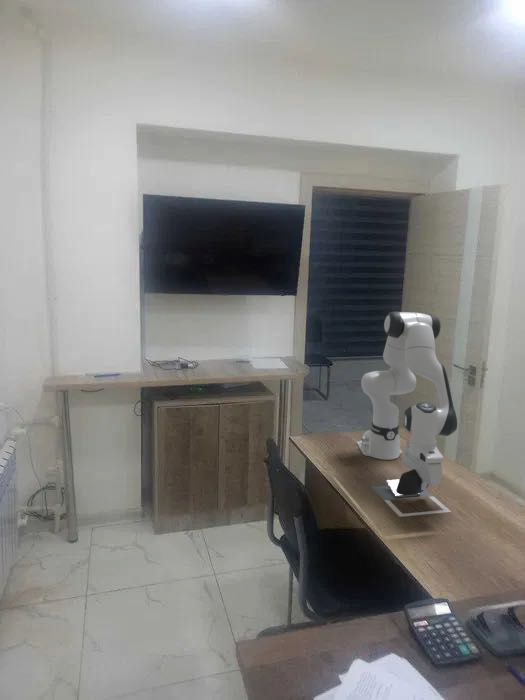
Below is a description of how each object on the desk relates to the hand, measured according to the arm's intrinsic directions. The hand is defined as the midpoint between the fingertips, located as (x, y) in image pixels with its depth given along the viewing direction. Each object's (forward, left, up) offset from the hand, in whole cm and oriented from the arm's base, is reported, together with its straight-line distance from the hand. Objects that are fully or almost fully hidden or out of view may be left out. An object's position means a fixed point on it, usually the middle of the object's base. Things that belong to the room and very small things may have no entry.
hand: (418, 486), depth 179 cm
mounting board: (-5, 0, -9) cm, 10 cm away
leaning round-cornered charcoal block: (-4, 0, -3) cm, 5 cm away
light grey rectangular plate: (-10, 0, -6) cm, 12 cm away
